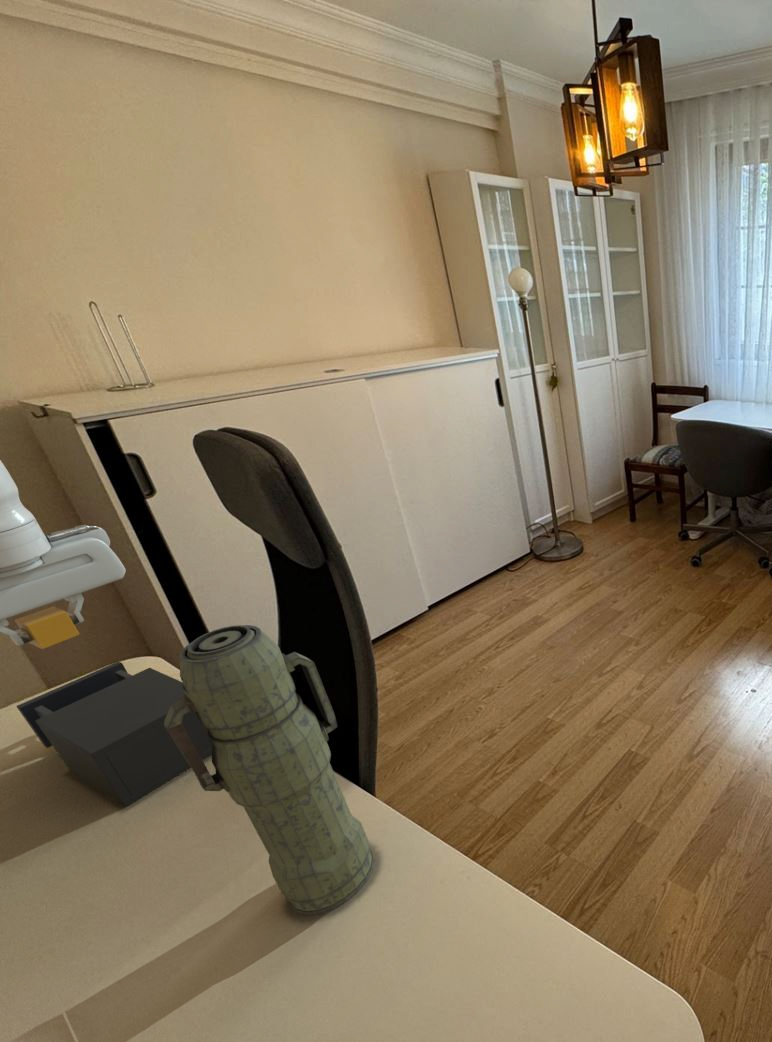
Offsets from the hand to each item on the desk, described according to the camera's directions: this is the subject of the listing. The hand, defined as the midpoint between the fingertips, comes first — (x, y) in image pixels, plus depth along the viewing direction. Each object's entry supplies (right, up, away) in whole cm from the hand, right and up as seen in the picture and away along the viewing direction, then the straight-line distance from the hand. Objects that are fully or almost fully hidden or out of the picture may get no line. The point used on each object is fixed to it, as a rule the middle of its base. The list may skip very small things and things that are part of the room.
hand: (50, 632), depth 81 cm
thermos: (+51, -28, -14) cm, 60 cm away
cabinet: (+11, -20, +4) cm, 23 cm away
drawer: (0, -17, +8) cm, 19 cm away
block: (0, -1, 0) cm, 1 cm away
